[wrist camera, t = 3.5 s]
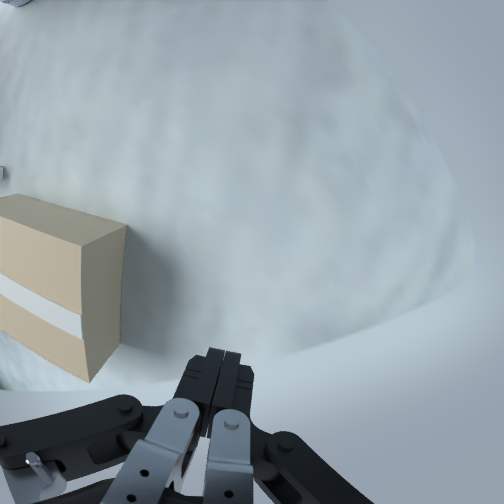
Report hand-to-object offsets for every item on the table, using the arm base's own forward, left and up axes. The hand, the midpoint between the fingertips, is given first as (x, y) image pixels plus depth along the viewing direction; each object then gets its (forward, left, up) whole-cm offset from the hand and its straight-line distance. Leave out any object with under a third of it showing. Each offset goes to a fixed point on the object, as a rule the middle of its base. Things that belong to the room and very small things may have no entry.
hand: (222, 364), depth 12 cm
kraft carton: (0, -13, -5) cm, 14 cm away
